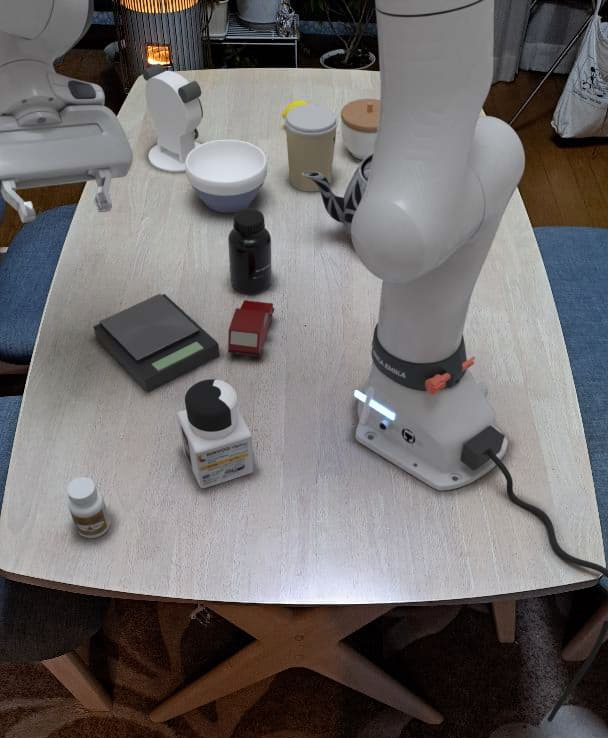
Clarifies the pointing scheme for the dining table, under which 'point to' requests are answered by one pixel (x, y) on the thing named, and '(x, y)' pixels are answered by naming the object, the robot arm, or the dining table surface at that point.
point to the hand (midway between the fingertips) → (68, 214)
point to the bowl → (226, 173)
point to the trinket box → (360, 126)
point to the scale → (155, 341)
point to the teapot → (348, 205)
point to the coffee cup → (310, 143)
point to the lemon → (291, 106)
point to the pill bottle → (87, 508)
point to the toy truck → (249, 328)
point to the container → (215, 433)
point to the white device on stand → (172, 117)
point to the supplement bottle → (250, 252)
